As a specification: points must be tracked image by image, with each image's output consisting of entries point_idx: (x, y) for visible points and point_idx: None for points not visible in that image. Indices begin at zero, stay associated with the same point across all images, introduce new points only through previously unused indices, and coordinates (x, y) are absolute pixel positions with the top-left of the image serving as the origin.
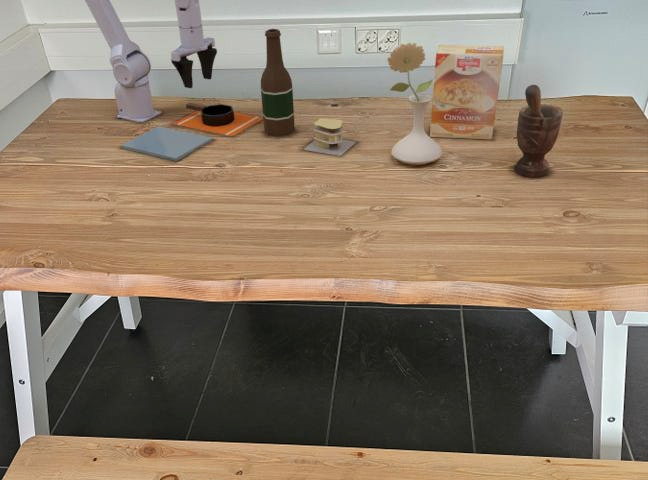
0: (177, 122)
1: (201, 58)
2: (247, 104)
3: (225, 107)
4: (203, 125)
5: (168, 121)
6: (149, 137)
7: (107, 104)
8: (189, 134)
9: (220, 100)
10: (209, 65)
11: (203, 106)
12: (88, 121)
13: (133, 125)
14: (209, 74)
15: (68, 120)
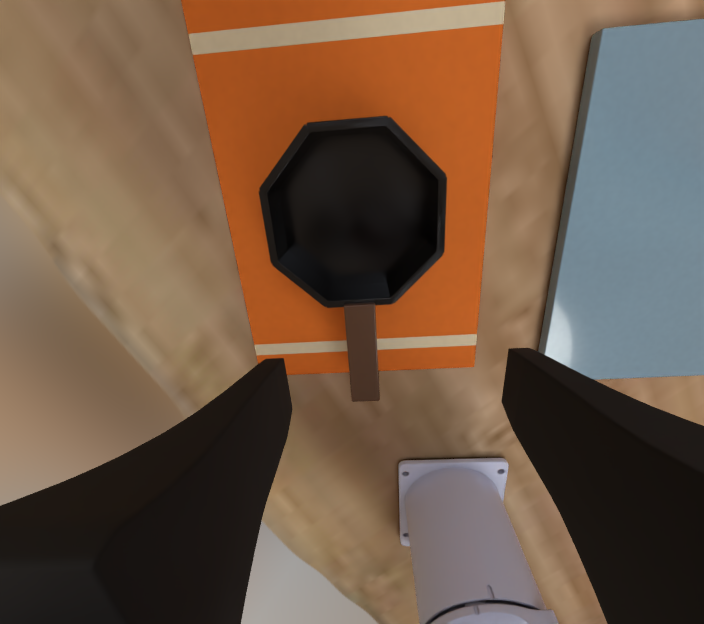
0: (456, 356)
1: (238, 566)
2: (111, 247)
3: (276, 229)
4: None
5: (449, 397)
6: (671, 331)
7: (411, 608)
8: (593, 194)
9: (167, 377)
10: (238, 428)
11: (359, 313)
12: (547, 575)
13: (531, 466)
14: (272, 379)
15: (558, 611)
